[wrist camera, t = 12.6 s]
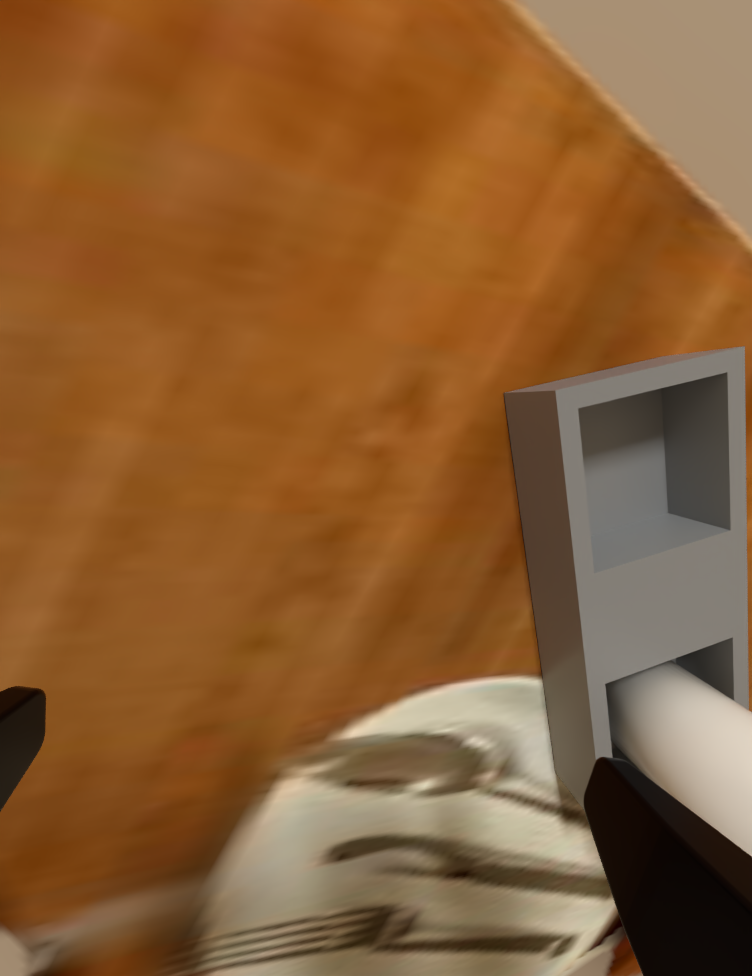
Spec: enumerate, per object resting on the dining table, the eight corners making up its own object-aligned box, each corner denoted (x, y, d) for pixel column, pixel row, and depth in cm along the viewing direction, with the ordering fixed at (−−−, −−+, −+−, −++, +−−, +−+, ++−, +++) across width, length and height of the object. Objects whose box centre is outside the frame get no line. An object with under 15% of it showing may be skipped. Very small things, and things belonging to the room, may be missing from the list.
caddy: (555, 772, 23) (604, 837, 20) (503, 393, 19) (555, 390, 15) (682, 722, 24) (749, 774, 21) (663, 356, 20) (744, 346, 16)
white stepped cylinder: (606, 745, 23) (975, 1127, 11) (565, 683, 21) (934, 1037, 9) (676, 688, 23) (1111, 995, 11) (640, 623, 22) (1089, 891, 10)
